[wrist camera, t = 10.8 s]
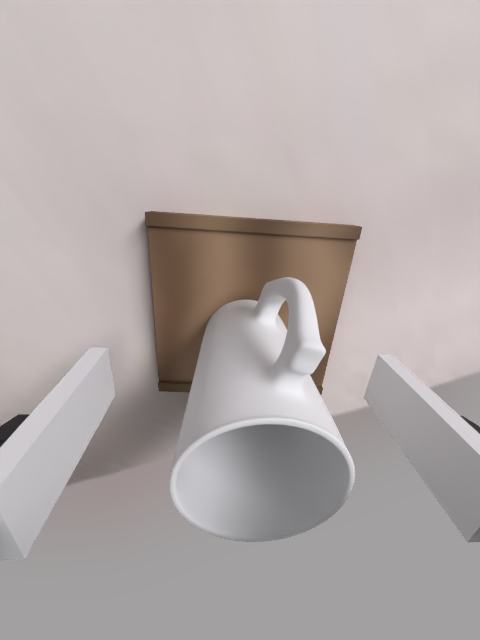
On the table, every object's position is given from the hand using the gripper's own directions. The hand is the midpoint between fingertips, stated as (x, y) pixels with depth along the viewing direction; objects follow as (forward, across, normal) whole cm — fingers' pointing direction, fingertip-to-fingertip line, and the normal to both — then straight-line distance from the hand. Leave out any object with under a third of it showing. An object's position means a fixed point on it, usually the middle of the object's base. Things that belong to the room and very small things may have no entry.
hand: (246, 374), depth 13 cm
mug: (+8, +1, 0) cm, 8 cm away
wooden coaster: (+9, +1, 0) cm, 9 cm away
